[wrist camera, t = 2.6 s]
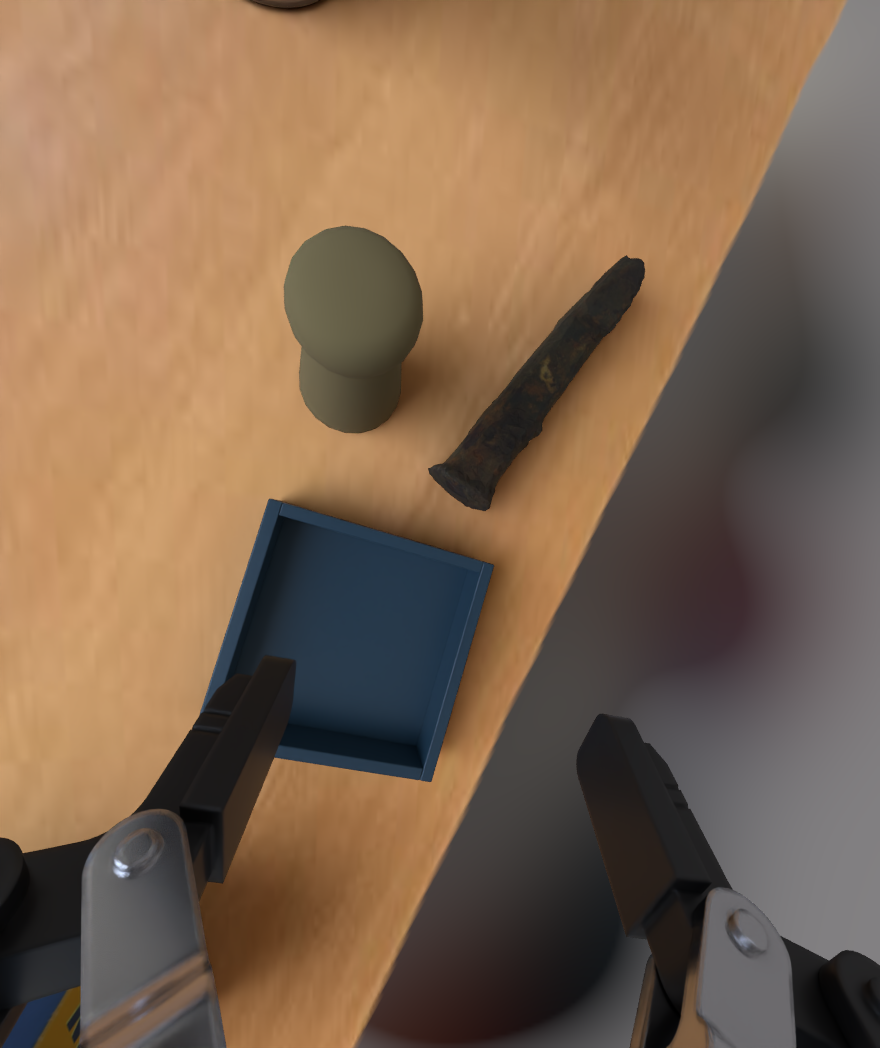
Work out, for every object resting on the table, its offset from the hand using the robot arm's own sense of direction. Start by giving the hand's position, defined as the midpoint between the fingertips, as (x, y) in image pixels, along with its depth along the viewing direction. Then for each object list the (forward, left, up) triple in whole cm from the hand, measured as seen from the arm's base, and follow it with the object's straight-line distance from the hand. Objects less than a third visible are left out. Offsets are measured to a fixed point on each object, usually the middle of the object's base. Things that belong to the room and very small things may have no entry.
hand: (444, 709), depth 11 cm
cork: (-6, +12, -15) cm, 20 cm away
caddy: (-1, -3, -15) cm, 15 cm away
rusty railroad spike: (+5, +16, -15) cm, 23 cm away
